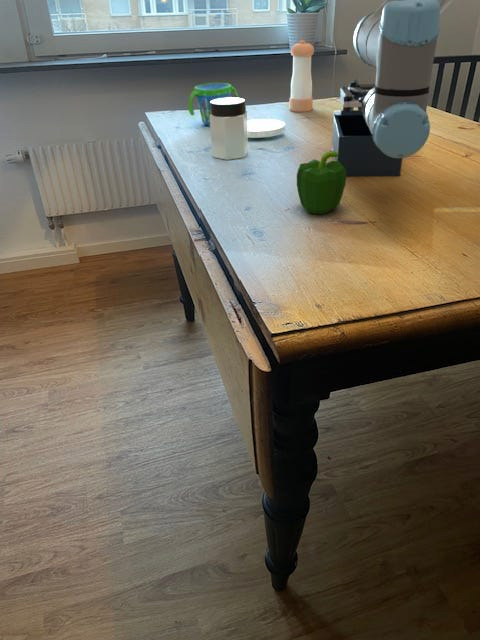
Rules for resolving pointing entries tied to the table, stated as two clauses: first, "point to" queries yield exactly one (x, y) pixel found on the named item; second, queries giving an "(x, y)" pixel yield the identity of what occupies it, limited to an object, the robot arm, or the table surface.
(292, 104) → the pepper shaker
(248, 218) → the table surface
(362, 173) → the box
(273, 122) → the plastic lid
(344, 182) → the bell pepper
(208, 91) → the snack cup
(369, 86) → the lunchbox lid
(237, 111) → the jar
